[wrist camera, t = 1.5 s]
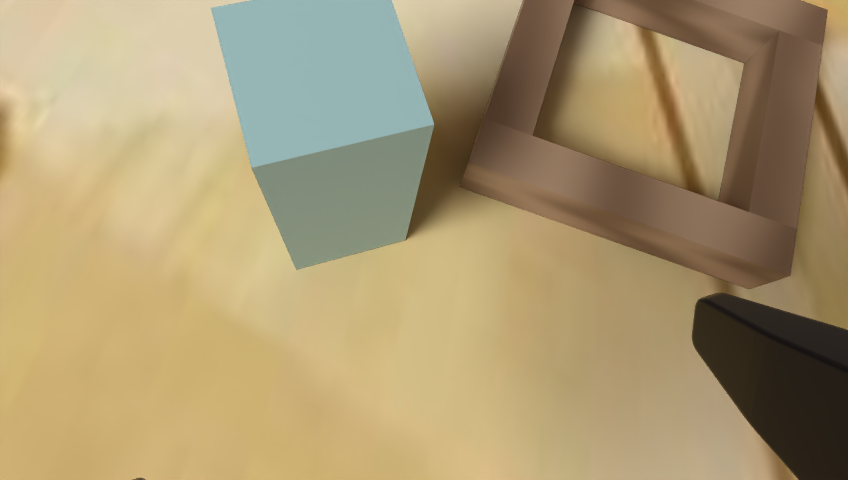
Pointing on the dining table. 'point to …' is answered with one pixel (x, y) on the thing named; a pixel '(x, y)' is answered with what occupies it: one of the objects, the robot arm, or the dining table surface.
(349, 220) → the peg
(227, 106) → the dining table surface
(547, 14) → the socket collar
